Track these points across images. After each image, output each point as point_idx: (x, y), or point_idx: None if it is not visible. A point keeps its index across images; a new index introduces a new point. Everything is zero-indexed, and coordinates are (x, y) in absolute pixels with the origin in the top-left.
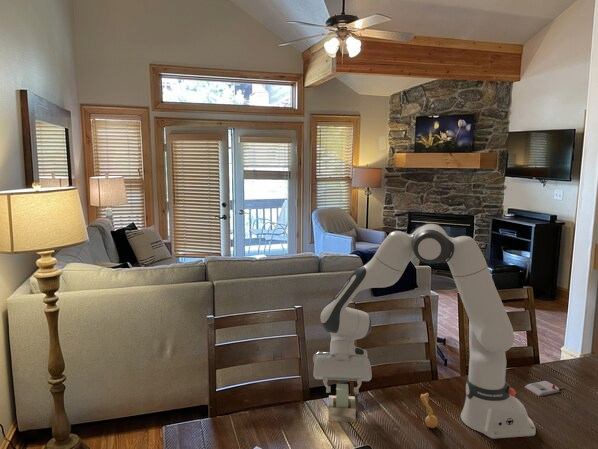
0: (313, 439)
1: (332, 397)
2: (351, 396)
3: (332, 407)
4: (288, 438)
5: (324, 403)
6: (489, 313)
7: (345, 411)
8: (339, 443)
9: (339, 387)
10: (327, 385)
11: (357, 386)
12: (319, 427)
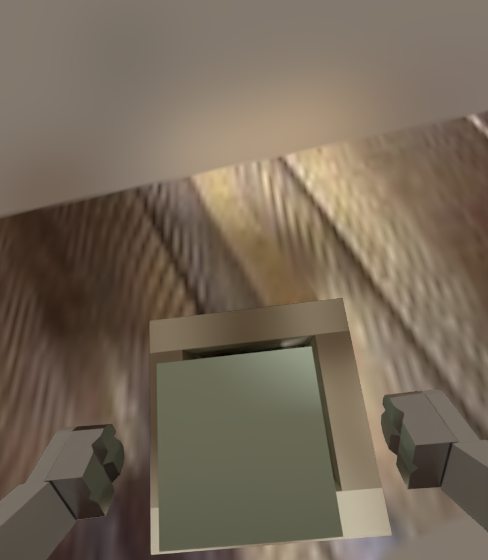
0: (365, 161)
1: (350, 497)
2: (180, 551)
3: (319, 334)
4: (484, 142)
5: (402, 529)
6: None
7: (221, 313)
8: (244, 163)
9: (279, 412)
10: (466, 448)
11: (30, 490)
12: (362, 250)
